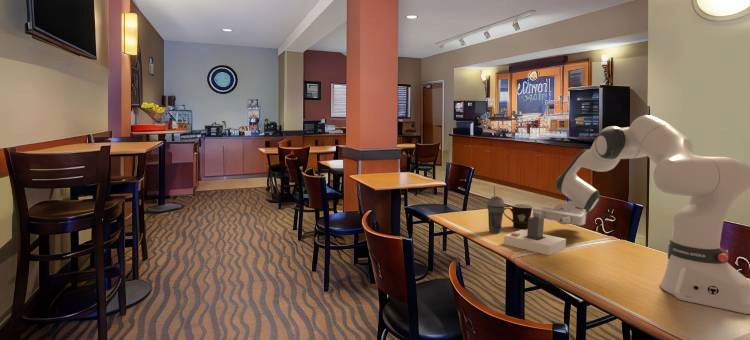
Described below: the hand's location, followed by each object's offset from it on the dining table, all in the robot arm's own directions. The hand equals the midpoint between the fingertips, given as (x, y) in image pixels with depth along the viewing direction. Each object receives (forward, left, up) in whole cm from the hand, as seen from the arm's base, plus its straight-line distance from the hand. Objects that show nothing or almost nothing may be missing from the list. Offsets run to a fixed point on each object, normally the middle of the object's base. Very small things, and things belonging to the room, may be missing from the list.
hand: (550, 218), depth 174 cm
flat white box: (0, +12, -9) cm, 15 cm away
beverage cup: (+21, +6, -9) cm, 24 cm away
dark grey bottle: (0, +12, -9) cm, 15 cm away
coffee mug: (+19, -10, -9) cm, 23 cm away
